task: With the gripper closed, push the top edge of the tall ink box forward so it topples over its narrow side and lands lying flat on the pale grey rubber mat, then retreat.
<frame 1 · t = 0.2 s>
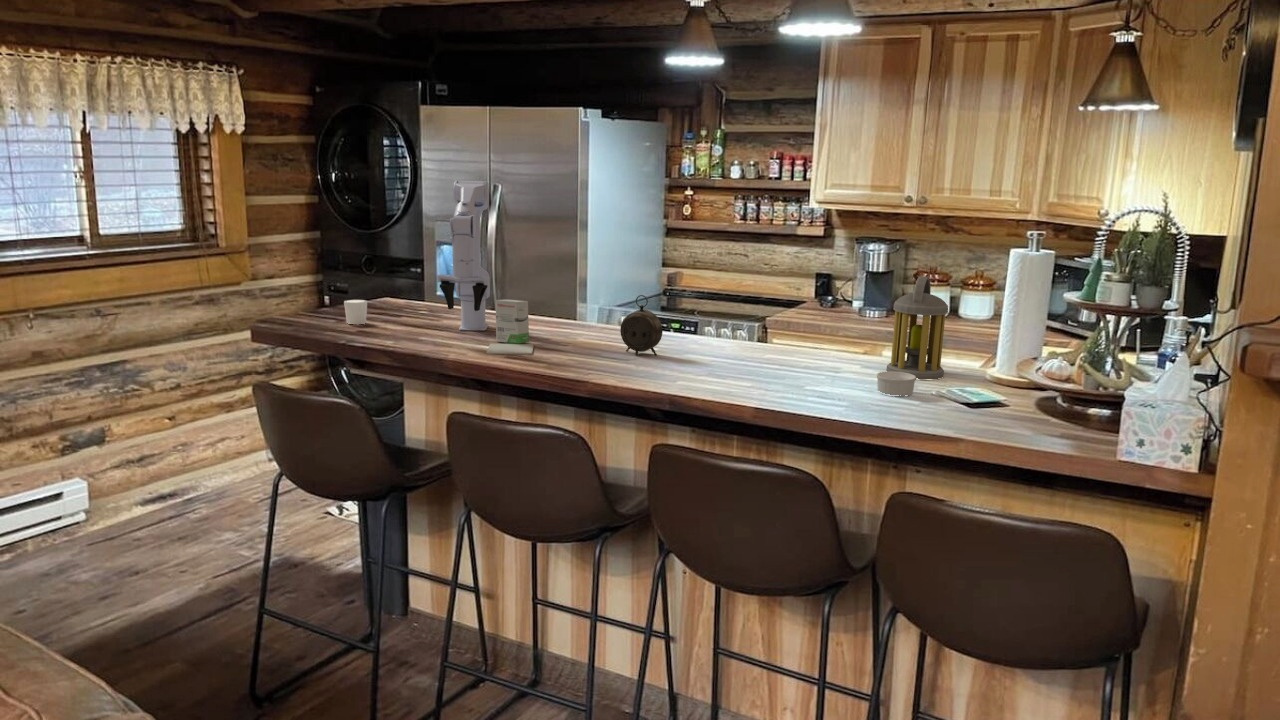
hand: (463, 309, 261), 10 cm above the worktop, fingers open, 7 cm apart
lantern: (914, 374, 243), on the worktop
mat: (510, 349, 259), on the worktop
ramekin: (894, 394, 223), on the worktop
ink box: (512, 342, 269), on the worktop, touching mat
white cup: (356, 324, 291), on the worktop
alarm clock: (639, 355, 258), on the worktop
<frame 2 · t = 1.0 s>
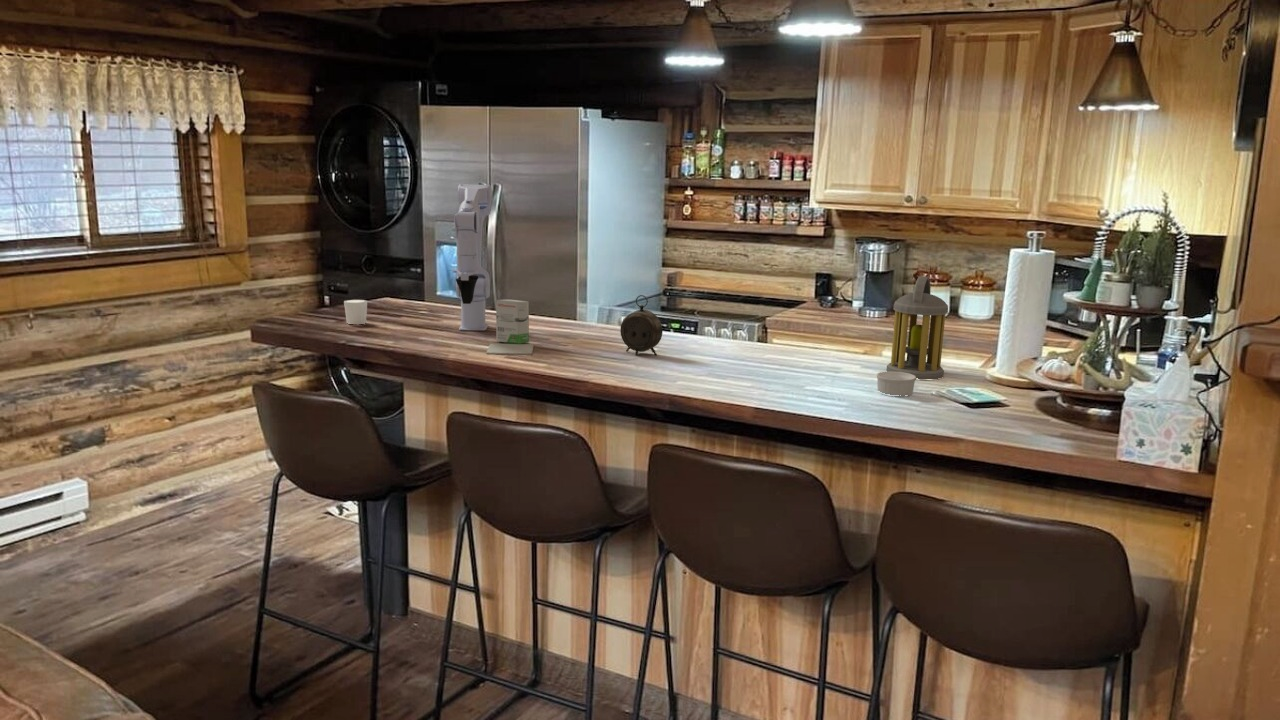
hand: (467, 302, 271), 10 cm above the worktop, fingers open, 3 cm apart
nothing on the worktop moved.
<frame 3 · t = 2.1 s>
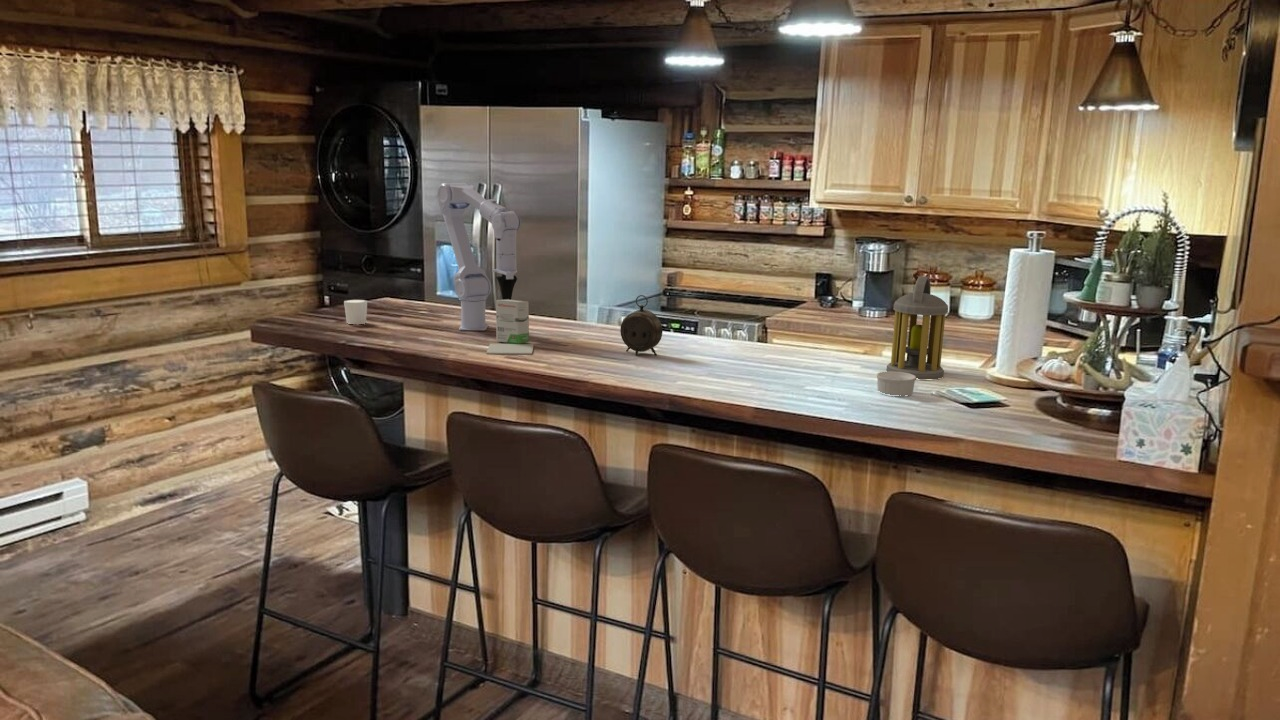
hand: (506, 301, 275), 10 cm above the worktop, fingers closed
nothing on the worktop moved.
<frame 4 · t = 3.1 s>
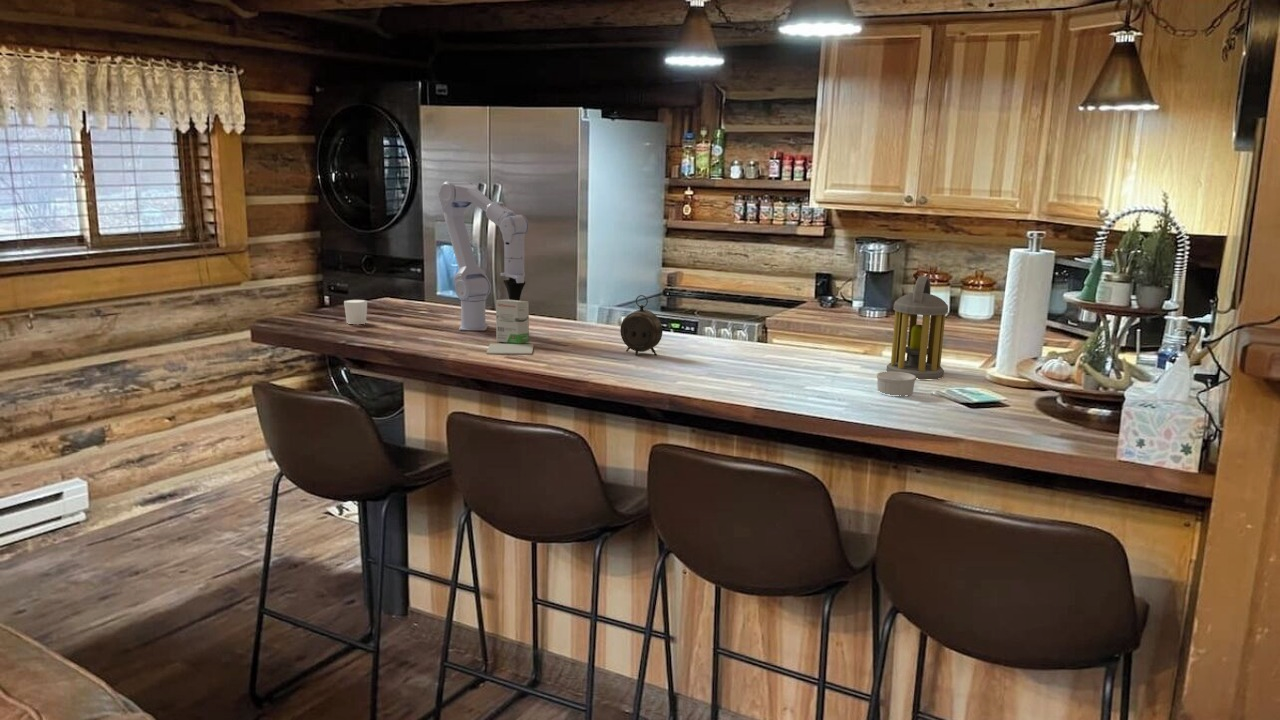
hand: (514, 304, 275), 9 cm above the worktop, fingers closed
nothing on the worktop moved.
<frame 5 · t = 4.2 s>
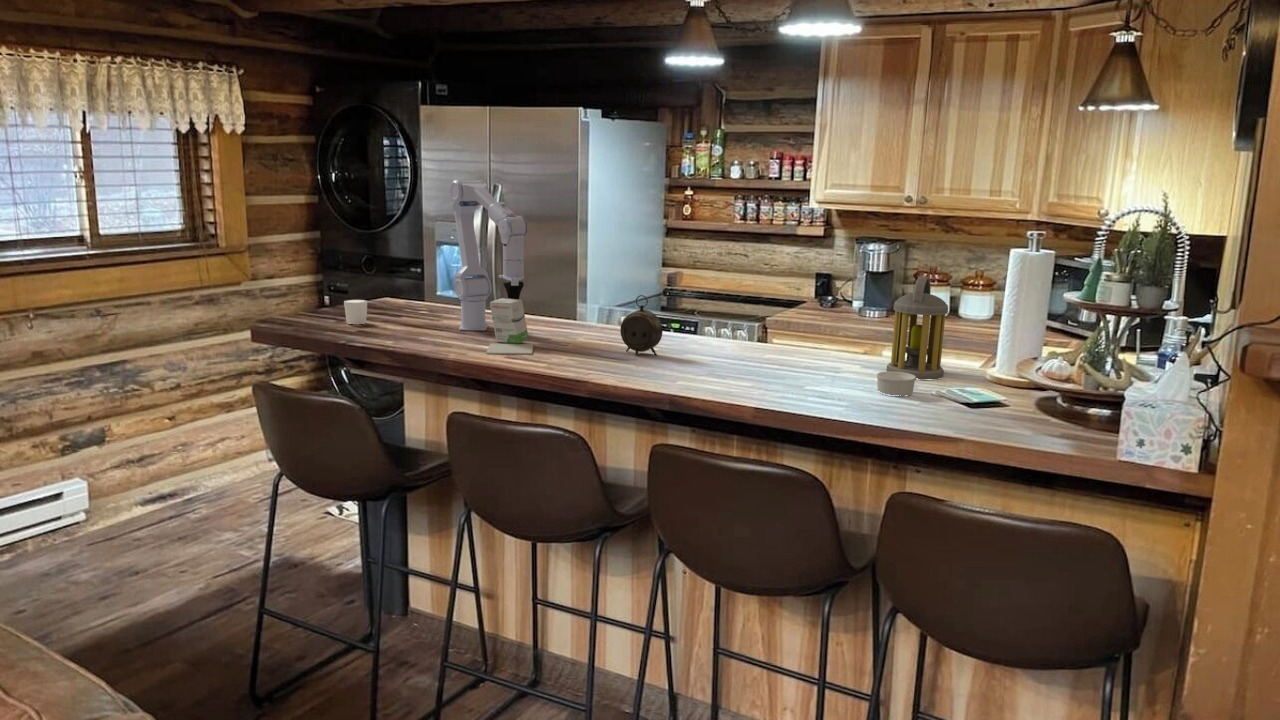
hand: (513, 307, 270), 9 cm above the worktop, fingers closed
ink box: (512, 341, 269), on the worktop, touching gripper, mat
everything else where it was.
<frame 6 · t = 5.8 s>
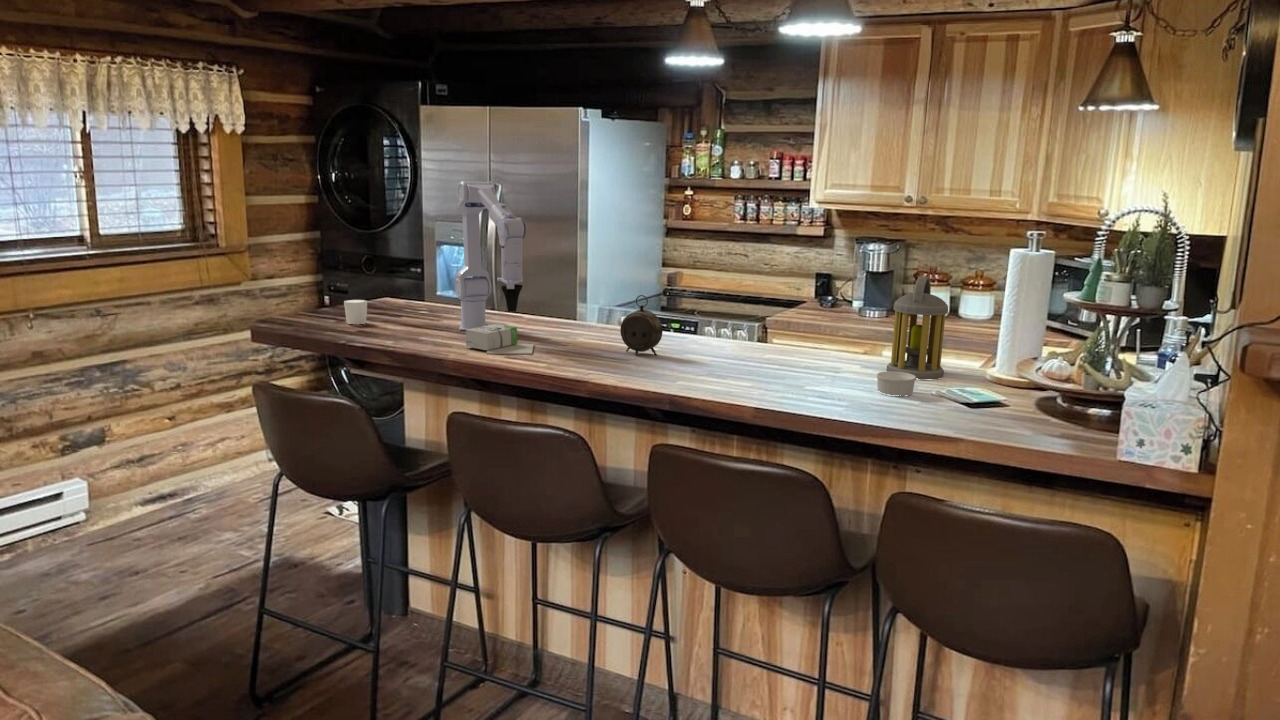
hand: (512, 311, 264), 9 cm above the worktop, fingers closed
ink box: (506, 333, 266), point 3 cm above the worktop, touching mat
everything else where it was.
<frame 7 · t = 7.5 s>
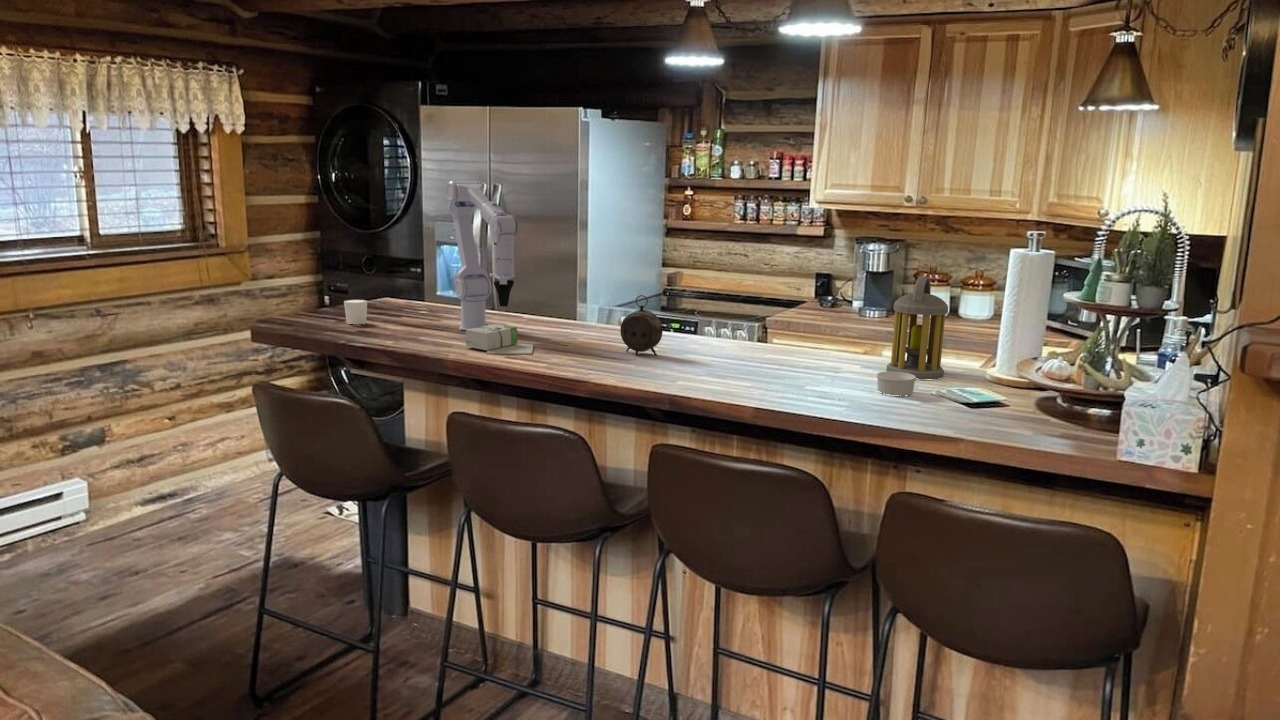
hand: (503, 306, 271), 10 cm above the worktop, fingers closed
nothing on the worktop moved.
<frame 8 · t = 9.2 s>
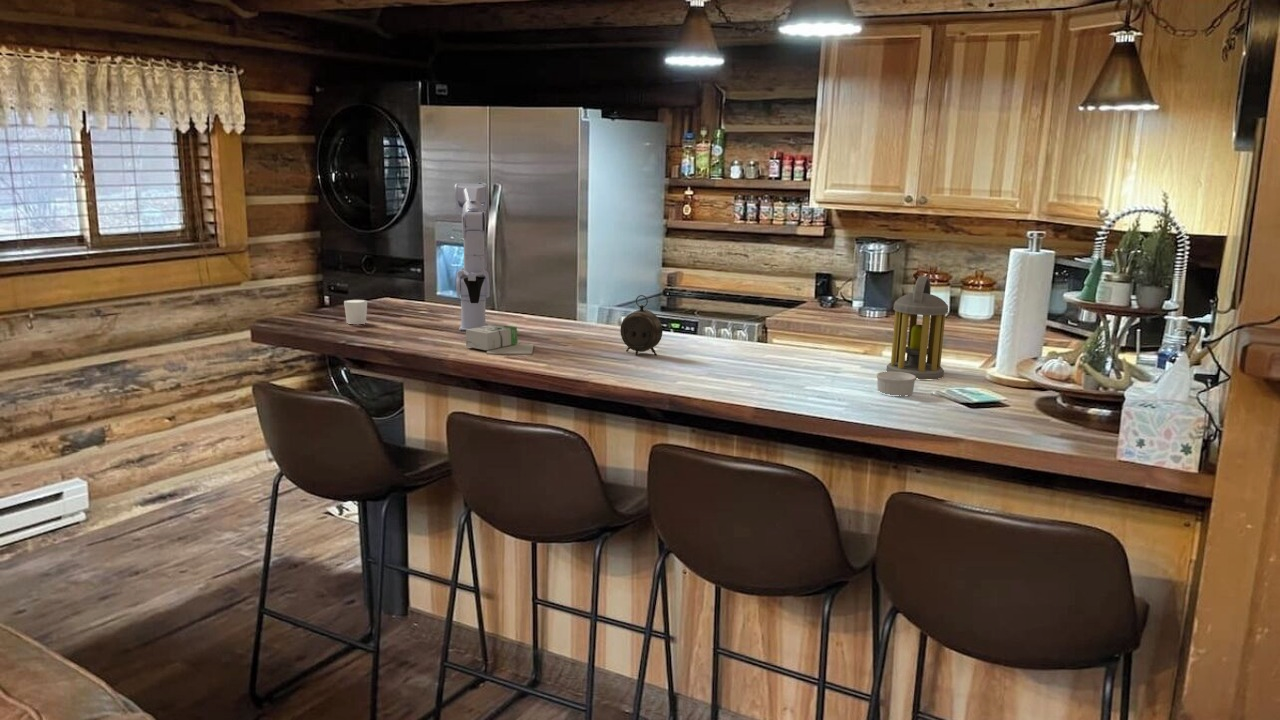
hand: (474, 302, 270), 10 cm above the worktop, fingers closed
nothing on the worktop moved.
at the end: ink box tilted 90°; ink box inside the target area (5.4 cm from its centre), point 2.9 cm above the worktop; ink box touching mat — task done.
